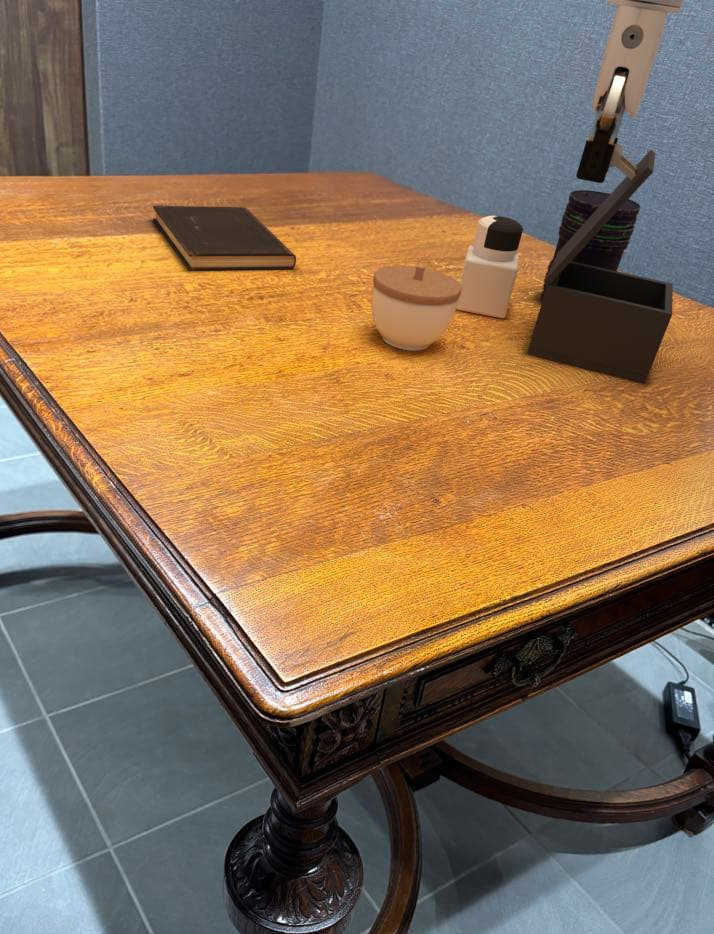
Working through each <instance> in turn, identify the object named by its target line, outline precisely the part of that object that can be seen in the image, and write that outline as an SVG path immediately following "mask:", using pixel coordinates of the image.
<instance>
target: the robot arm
mask: <svg viewBox="0 0 714 934" xmlns="http://www.w3.org/2000/svg"><path fill="white" fill-rule="evenodd" d="M683 2H684V0H607V1H606V3H607V4H611V5H617V7H616V10H615V13H614V17H613V20H612V24H611V28H610V31H609V34H608V38H607V43H606V45H605V48H604V49H605V50H604V53H603V56H602V60H601V65H600V69H599V73H598V77H597V82H596V86H595V91H594V96H593V102H592V108H593V110H594V111H595V112H596V113H595V117H594V122H593V124H592V127H591V130H590V134H589V137H588V139H587V140H585V144H584V147H583V151H582V155H581V158H580V161H579V165H578V168H577V172H576V175H575V177H576V179H579V180H581V181H587V182H593V183H598V184H603V183H604V182H605V180H606V177H607V174H608V172H609V169H610V167H609V164H610V161H611V158H612V155H613V151H614V148H615V145H613V144H618V140H619V137H617V136H618V133H619V130H620V127H621V124H622V120H623V117H624V115H625V112H629V113H630V114H629V118H631V119H632V118H634V117H636V116H637V115H638V112H639V110H640V106H641V103H642V100H643V98H644V94H645V92H646V88H647V85H648V81H649V78H650V75H651V73H652V71H653V66H654V63H655V60H656V57H657V54H658V51H659V48H660V45H661V41H662V37H663V33H664V30H665V26H666V22H667V17H668V13H672V14H680V11H681V7H682V5H683Z"/></svg>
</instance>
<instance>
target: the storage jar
mask: <svg viewBox="0 0 714 934" xmlns="http://www.w3.org/2000/svg"><path fill="white" fill-rule="evenodd" d="M610 194H611V193H609V192H603V191H596V190H585V189H583V190H581V189H579V190H572V191H571V192H570V193H569V196H568V202H567V204H566V206H565V211H564V212H563V214H562V217H561V223H560V226H559V228H558V239H557V243H556V247H555V250H554V253H553V257H552V259H551V260H550V261H549V263H548V265H547V271H546V273H545V276H544V279H543V283H544V284H543V286H542V292H541V293H540V295H539V301H540V303H542V300H543V297H544V294H545V290H546V287H547V284H548V281H547V280H546V278H547V276H548V273H549V271H550V269H551V267H552V265H553V262H554V260H555V258H556V256H557V254H558V252H559V251H560V250H561V249H562V248H563V246H564V245H565V244H566V243H567V242H568V241H569V240H570V239H571V238H572V236H573V235H574V234H575V233H576V232H577V231H578V230H579V229H580V228H581V226H582V225H583V224H584V223H585V222H586V221H587V220H588V219H589V218H590V216H591V215H592V214H593V213H594V212H595V211H596V210H597V209H598V208H599V206H600V205H601V204H602V203H603V202H604V201H605V200H606V199H607V197H608V196H609V195H610ZM641 207H642V206H641V205H640V204H639V203H638V202H636V201H634V200H632V199H630V198H629V199H628V200H627V201H626V202H625V203H624V204H623V205H622V207H621V208H620V209H619V210H618V211H617V212H616V213H615V214H614V215H613V216H612V217H611V218H610V220H609V221H608V222H607V223H606V224H605V225H604V226H603V227H602V228H601V229H600V230H599V232H598V233H597V234H596V235H595V236H594V237H593V238H592V239H591V240H590V241H589V242H588V243H587V245H586V246H585V247H584V248H583V249H582V250H581V251H580V252H579V253H578V254H577V255H576V257H575V258H574V259H573V260H572V261H573V262H577V263H582V264H586V265H591V266H595V267H600V268H604V269H609V270H613V271H618V269H619V266H620V264H621V261H622V258H623V254H624V251H625V250H626V249H628V246H629V244H630V240H631V237H632V236H633V233H634V230H635V228H636V227H635V224H636V222H637V219H638V217H637V216H638V214H639V213H640V210H641Z"/></svg>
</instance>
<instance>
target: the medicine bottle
mask: <svg viewBox="0 0 714 934" xmlns="http://www.w3.org/2000/svg"><path fill="white" fill-rule="evenodd" d="M523 233H524V227H523V225H522V224H521V223H519V221H517V220H515V219H513V218H510V217H507V216H501V215H487V216H484V217H481V218H480V219H479V220H478V222H477V227H476V231H475V235H474V240H473V243H472V245H469V246H468V248H467V252H466V256H465V260H464V264H463V268H462V273H461V276H460V277H461V278H460V281H459V284H460V285H461V287H462V291H461V295H460V297H459V299H458V304H457V307H456V311H461V312H467V313H471V314H472V313H473V314H478V315H483V316H488V317H493V318H498V319H505V318H506V317H507V312H508V309H509V306H510V301H511V297H512V294H513V291H514V286H515V283H516V279H517V275H518V273H519V272H518V271H519V262H520V261H519V259H520V255H519V254H518V250H519V248H520V243H521V239H522V235H523Z"/></svg>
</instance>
